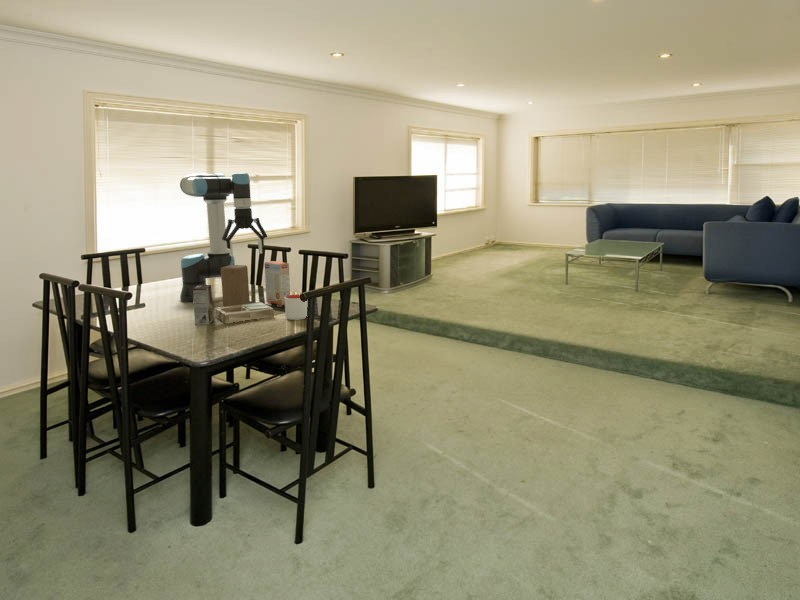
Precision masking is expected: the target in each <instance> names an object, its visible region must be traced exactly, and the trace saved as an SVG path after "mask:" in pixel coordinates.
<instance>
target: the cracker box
mask: <svg viewBox="0 0 800 600" xmlns="http://www.w3.org/2000/svg"><path fill="white" fill-rule="evenodd" d="M264 278H265V279H264V281H265V298H266V301H265V302H267V303H271V304H273V305H275V304H276V305H279V306H285V296H288V295H291V283H290V263H289V262H283V261H276V260H271V261H264Z"/></svg>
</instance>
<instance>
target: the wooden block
mask: <svg viewBox="0 0 800 600" xmlns="http://www.w3.org/2000/svg"><path fill="white" fill-rule="evenodd" d="M248 269H249V267H248V266H247V265H246V264H245V265H244V264H240V265H239V264H235V265H229V266H225V267H222V268H221V277H220V280H221V290H222V291H221V292H222V305H223V306H222V307H226V306H234V305H242V304H250V302H251V301H250V286H249V272H248Z"/></svg>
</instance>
